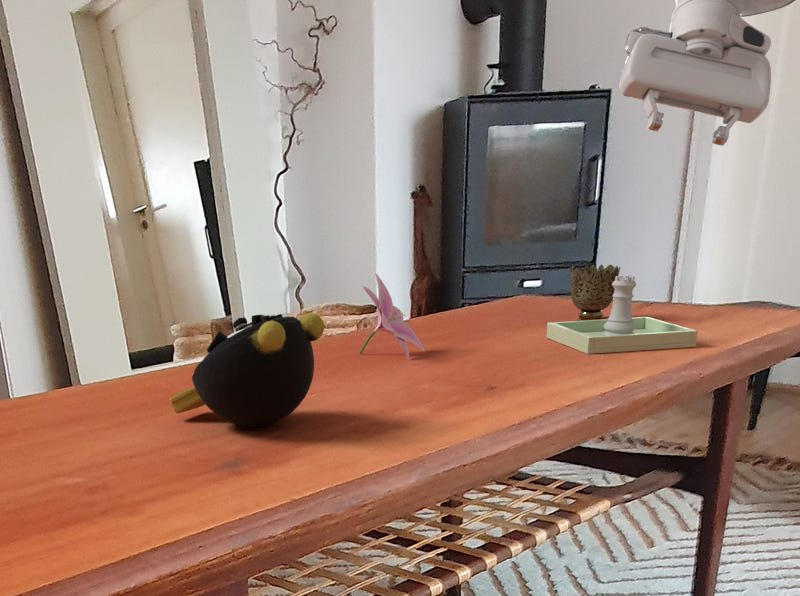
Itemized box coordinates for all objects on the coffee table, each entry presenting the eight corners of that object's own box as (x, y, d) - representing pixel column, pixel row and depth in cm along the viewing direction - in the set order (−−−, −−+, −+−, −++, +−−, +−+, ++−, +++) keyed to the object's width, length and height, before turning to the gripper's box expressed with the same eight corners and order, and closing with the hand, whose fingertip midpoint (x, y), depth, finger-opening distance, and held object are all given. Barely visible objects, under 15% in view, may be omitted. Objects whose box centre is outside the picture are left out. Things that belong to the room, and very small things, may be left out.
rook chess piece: (595, 338, 134) (601, 277, 131) (611, 334, 137) (617, 274, 134) (625, 341, 132) (632, 279, 128) (640, 336, 134) (648, 275, 131)
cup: (563, 316, 156) (567, 264, 153) (610, 316, 156) (615, 263, 152) (569, 324, 150) (573, 269, 146) (618, 323, 149) (623, 268, 145)
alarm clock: (263, 439, 107) (318, 308, 102) (288, 480, 95) (351, 334, 89) (163, 400, 103) (214, 262, 98) (174, 438, 90) (234, 282, 85)
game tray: (646, 331, 142) (647, 316, 141) (695, 347, 130) (698, 330, 129) (546, 337, 139) (547, 322, 138) (587, 354, 127) (588, 337, 126)
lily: (370, 374, 124) (408, 306, 120) (313, 329, 129) (348, 262, 125) (421, 388, 133) (458, 325, 129) (366, 345, 139) (400, 283, 134)
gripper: (638, 8, 130) (623, 105, 129) (782, 40, 131) (769, 137, 130) (620, 39, 136) (605, 132, 135) (757, 70, 137) (744, 163, 137)
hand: (687, 135), depth 133 cm, fingers open, 8 cm apart
